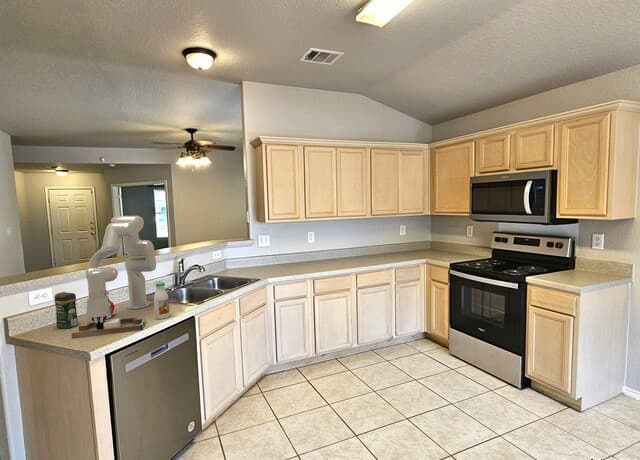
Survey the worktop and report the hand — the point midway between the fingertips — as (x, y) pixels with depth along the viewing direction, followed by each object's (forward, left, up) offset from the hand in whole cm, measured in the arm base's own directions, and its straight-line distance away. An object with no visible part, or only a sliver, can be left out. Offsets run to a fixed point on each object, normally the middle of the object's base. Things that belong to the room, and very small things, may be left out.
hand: (100, 329), depth 178 cm
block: (+1, +6, -1) cm, 6 cm away
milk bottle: (-13, +28, -1) cm, 30 cm away
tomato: (-26, -5, -1) cm, 26 cm away
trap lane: (-2, +5, -1) cm, 5 cm away
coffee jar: (-16, -19, -1) cm, 25 cm away
